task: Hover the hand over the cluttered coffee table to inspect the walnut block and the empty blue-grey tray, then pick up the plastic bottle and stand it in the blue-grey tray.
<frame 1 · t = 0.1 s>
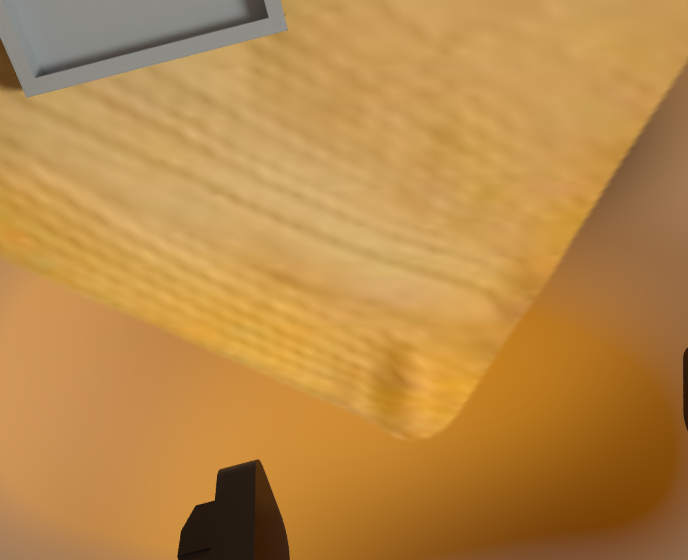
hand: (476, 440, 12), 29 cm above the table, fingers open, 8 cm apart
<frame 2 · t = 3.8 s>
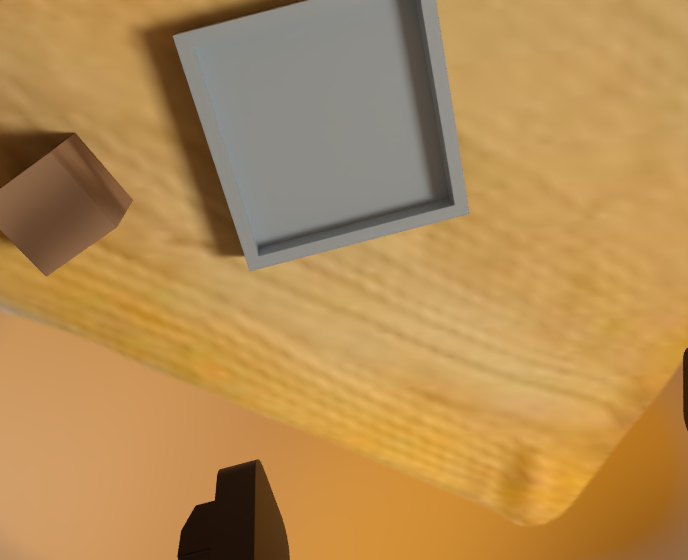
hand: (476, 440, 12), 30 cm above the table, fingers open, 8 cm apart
walnut block: (72, 190, 39), on the table
tray: (329, 123, 39), on the table
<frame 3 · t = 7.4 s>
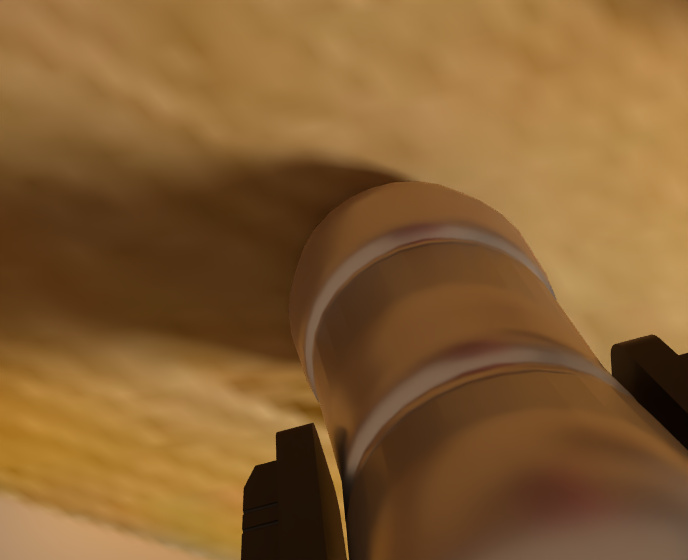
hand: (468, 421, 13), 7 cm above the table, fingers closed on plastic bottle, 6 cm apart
plastic bottle: (397, 270, 19), on the table, touching gripper
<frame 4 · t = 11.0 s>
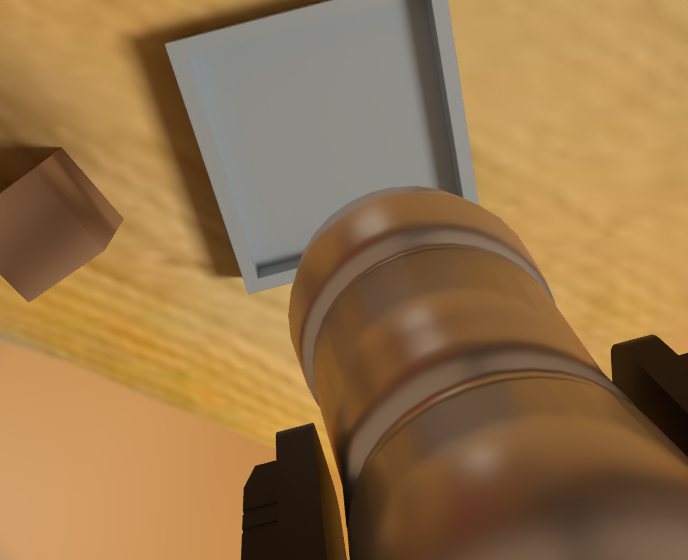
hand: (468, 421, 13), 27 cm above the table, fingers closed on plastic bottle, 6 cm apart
walnut block: (59, 208, 37), on the table
tray: (333, 137, 37), on the table
plastic bottle: (397, 273, 19), point 19 cm above the table, touching gripper
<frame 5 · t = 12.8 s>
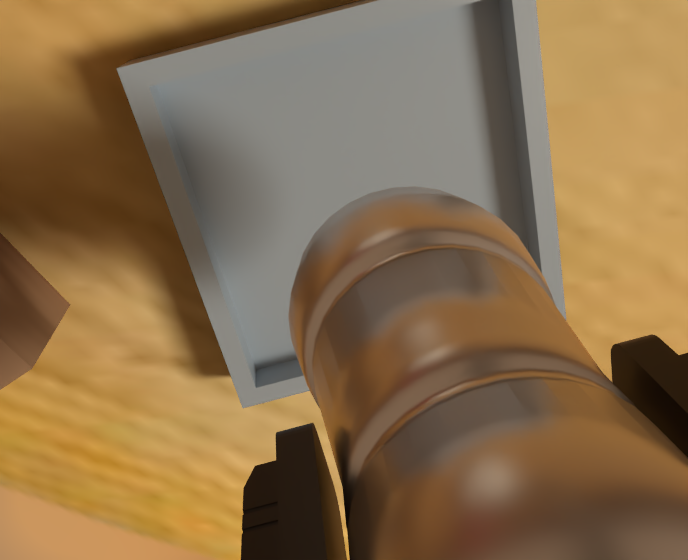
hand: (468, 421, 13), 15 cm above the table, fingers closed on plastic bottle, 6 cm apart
tray: (360, 192, 26), on the table
plastic bottle: (397, 274, 19), point 8 cm above the table, touching gripper
when the fingers open (10 cm above the table, at t = 14.5 s): plastic bottle drops 2 cm, resting on tray.
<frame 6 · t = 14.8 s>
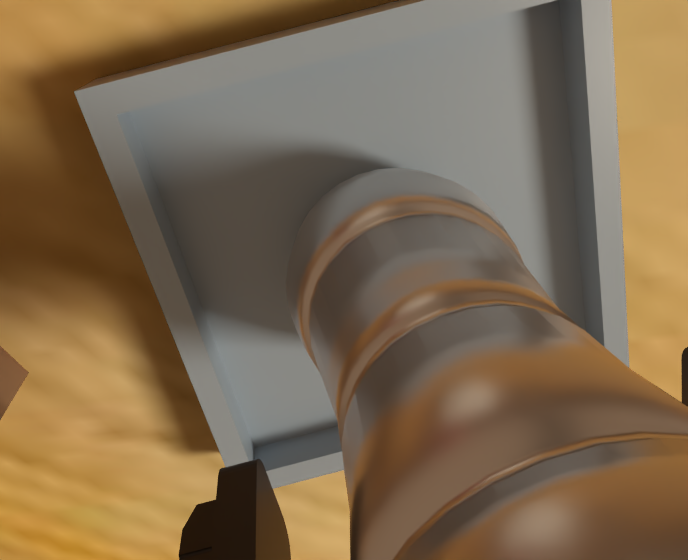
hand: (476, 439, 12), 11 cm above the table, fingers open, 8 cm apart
tray: (382, 238, 22), on the table
plastic bottle: (384, 252, 21), point 1 cm above the table, touching tray
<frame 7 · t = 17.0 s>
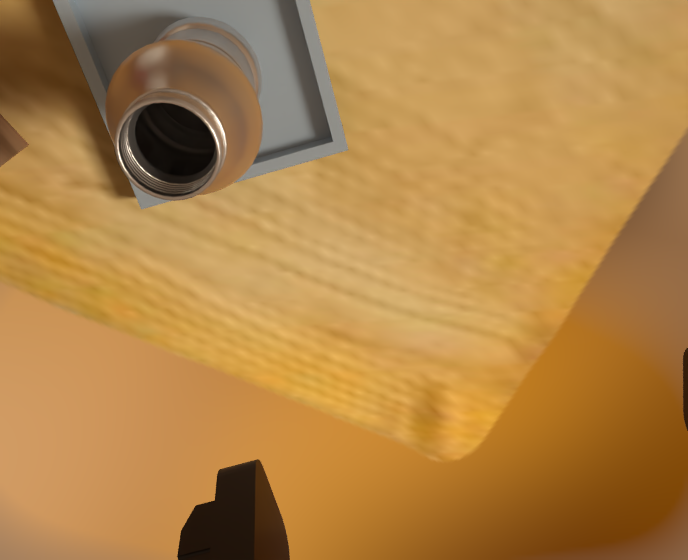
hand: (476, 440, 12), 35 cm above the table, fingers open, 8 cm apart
tray: (210, 66, 41), on the table
plastic bottle: (209, 70, 41), point 1 cm above the table, touching tray
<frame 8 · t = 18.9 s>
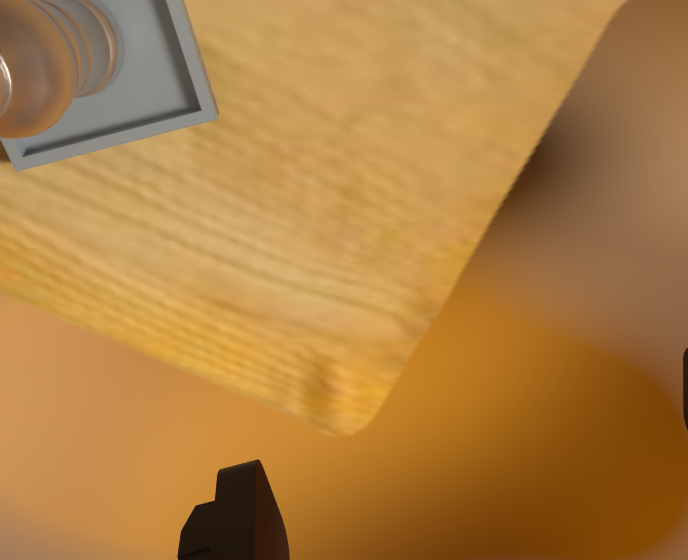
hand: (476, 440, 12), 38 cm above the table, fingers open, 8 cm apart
tray: (83, 35, 43), on the table
plastic bottle: (80, 38, 42), point 1 cm above the table, touching tray
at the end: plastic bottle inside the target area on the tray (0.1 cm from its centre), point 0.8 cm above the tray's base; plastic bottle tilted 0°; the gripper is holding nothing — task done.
